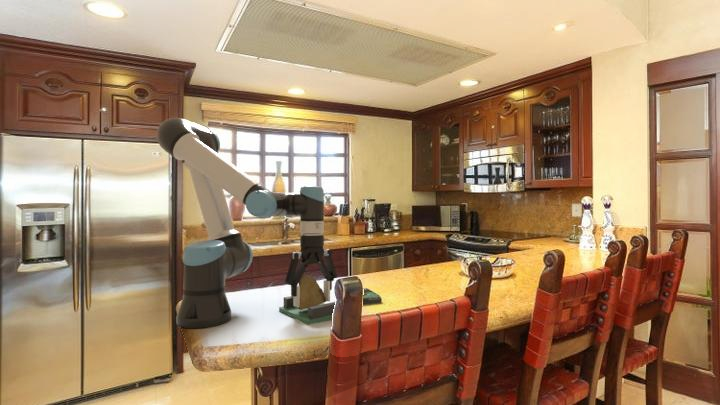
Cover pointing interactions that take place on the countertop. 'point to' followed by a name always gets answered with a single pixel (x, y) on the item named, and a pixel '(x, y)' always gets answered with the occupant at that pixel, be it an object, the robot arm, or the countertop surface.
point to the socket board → (302, 315)
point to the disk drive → (371, 297)
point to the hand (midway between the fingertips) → (312, 303)
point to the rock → (310, 293)
